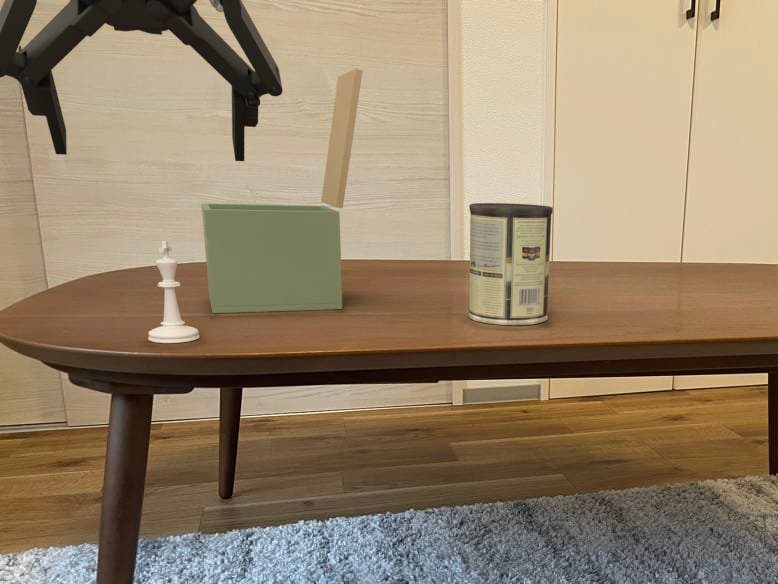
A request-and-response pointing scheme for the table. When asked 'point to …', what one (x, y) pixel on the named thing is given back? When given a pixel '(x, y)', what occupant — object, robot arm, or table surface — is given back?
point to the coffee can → (509, 263)
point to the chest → (272, 257)
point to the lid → (341, 138)
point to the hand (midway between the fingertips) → (153, 146)
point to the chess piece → (171, 305)
